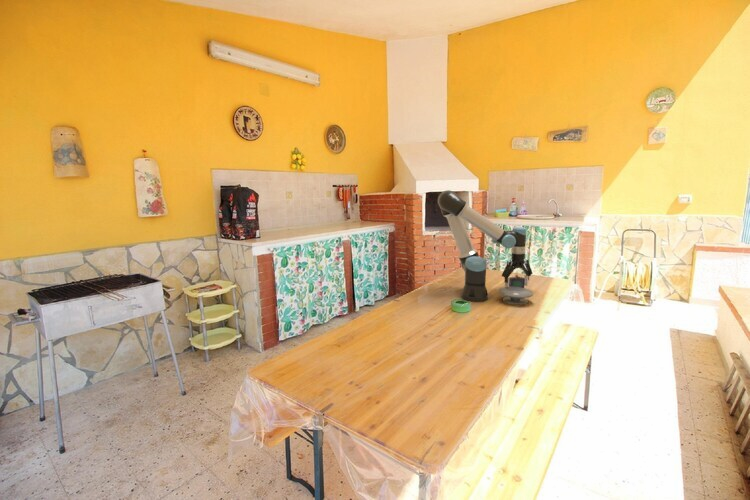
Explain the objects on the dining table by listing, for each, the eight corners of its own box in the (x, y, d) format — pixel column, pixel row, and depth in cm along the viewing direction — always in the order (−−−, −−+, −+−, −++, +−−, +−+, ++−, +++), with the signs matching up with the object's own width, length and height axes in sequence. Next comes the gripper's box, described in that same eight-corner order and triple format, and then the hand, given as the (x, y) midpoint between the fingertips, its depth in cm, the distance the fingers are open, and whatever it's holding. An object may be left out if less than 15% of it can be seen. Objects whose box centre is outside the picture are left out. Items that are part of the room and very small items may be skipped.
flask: (508, 292, 219) (509, 275, 217) (507, 290, 221) (508, 273, 219) (524, 292, 217) (525, 275, 215) (523, 291, 220) (524, 274, 218)
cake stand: (511, 308, 191) (512, 297, 190) (491, 298, 208) (492, 288, 207) (539, 304, 196) (540, 294, 194) (518, 295, 213) (518, 285, 211)
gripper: (504, 255, 208) (502, 290, 212) (540, 252, 214) (537, 286, 218) (496, 253, 215) (495, 287, 219) (531, 250, 221) (529, 283, 225)
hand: (516, 286), depth 218 cm, fingers open, 13 cm apart
